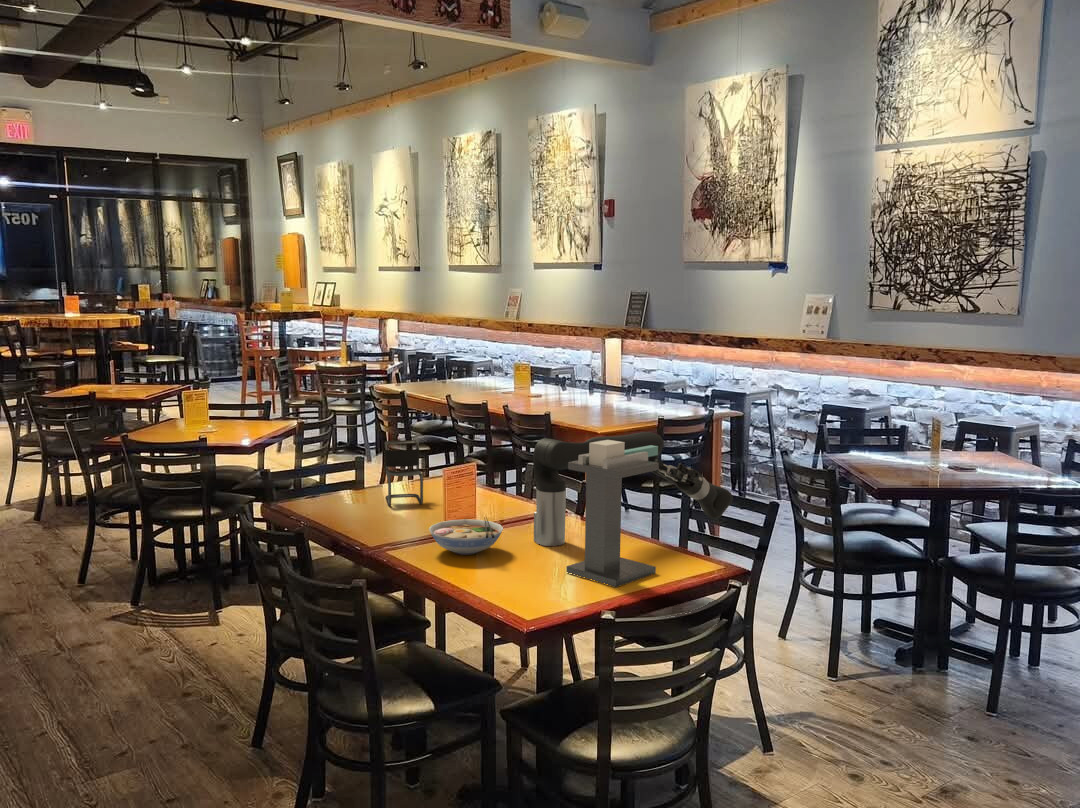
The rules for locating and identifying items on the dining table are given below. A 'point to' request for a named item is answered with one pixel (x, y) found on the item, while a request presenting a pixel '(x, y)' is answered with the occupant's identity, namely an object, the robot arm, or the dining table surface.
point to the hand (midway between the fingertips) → (667, 464)
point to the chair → (402, 461)
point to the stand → (608, 519)
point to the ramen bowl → (466, 535)
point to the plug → (614, 451)
